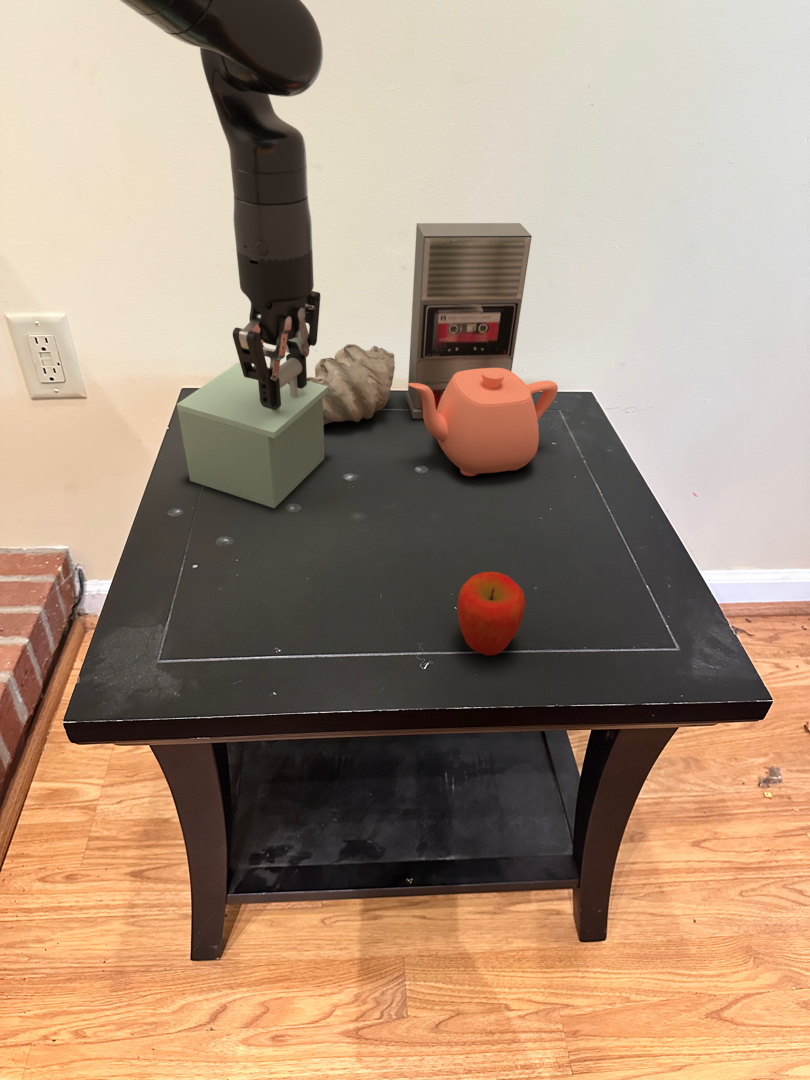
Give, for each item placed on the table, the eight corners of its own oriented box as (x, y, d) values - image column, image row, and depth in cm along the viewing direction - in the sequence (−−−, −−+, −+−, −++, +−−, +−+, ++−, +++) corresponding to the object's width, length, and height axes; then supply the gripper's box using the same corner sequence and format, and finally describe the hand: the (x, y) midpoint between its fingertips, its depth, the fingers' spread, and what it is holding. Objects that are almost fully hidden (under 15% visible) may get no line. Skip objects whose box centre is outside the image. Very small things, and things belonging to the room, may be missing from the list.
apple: (452, 617, 73) (459, 561, 69) (513, 621, 73) (524, 565, 69) (453, 665, 68) (460, 609, 64) (518, 669, 68) (531, 612, 64)
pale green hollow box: (324, 458, 94) (322, 390, 88) (274, 508, 86) (268, 437, 80) (245, 435, 98) (238, 368, 92) (189, 481, 89) (177, 410, 83)
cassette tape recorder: (413, 421, 103) (423, 238, 87) (406, 400, 107) (415, 223, 92) (507, 417, 105) (534, 238, 89) (496, 396, 110) (521, 222, 94)
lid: (328, 392, 88) (327, 350, 85) (274, 438, 79) (270, 394, 76) (238, 368, 92) (233, 327, 88) (177, 410, 83) (169, 366, 80)
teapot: (390, 439, 99) (393, 355, 91) (526, 423, 104) (539, 342, 96) (419, 495, 89) (425, 407, 81) (567, 475, 94) (586, 390, 86)
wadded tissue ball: (406, 430, 101) (409, 364, 94) (298, 440, 98) (294, 371, 91) (390, 395, 108) (392, 331, 102) (289, 402, 105) (285, 337, 99)
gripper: (280, 219, 79) (289, 364, 89) (198, 257, 68) (220, 416, 79) (341, 231, 77) (343, 378, 87) (267, 272, 66) (279, 433, 77)
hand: (284, 395), depth 83 cm, fingers closed on lid, 5 cm apart
